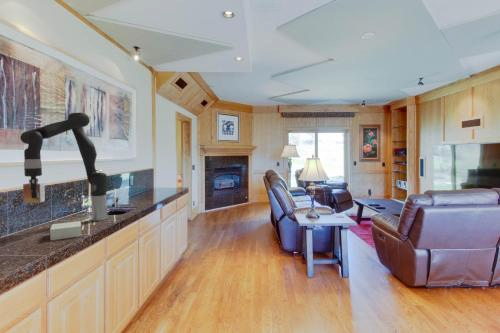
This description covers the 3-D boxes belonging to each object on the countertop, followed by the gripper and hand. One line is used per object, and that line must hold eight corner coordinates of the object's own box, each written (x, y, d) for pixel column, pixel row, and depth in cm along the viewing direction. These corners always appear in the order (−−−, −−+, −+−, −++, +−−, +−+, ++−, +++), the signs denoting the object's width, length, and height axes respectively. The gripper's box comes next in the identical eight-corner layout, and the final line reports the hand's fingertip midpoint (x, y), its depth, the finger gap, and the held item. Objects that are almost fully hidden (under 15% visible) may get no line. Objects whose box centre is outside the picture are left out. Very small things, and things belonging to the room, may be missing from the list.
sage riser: (81, 230, 165) (80, 221, 164) (81, 236, 153) (81, 226, 153) (52, 234, 157) (52, 224, 157) (50, 240, 145) (50, 229, 145)
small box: (23, 203, 148) (22, 184, 147) (28, 201, 153) (27, 183, 152) (40, 202, 150) (39, 183, 149) (45, 201, 155) (44, 182, 155)
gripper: (41, 167, 147) (42, 198, 148) (41, 166, 158) (42, 195, 159) (23, 168, 142) (24, 199, 143) (24, 167, 154) (26, 196, 155)
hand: (34, 197), depth 151 cm, fingers closed on small box, 7 cm apart
